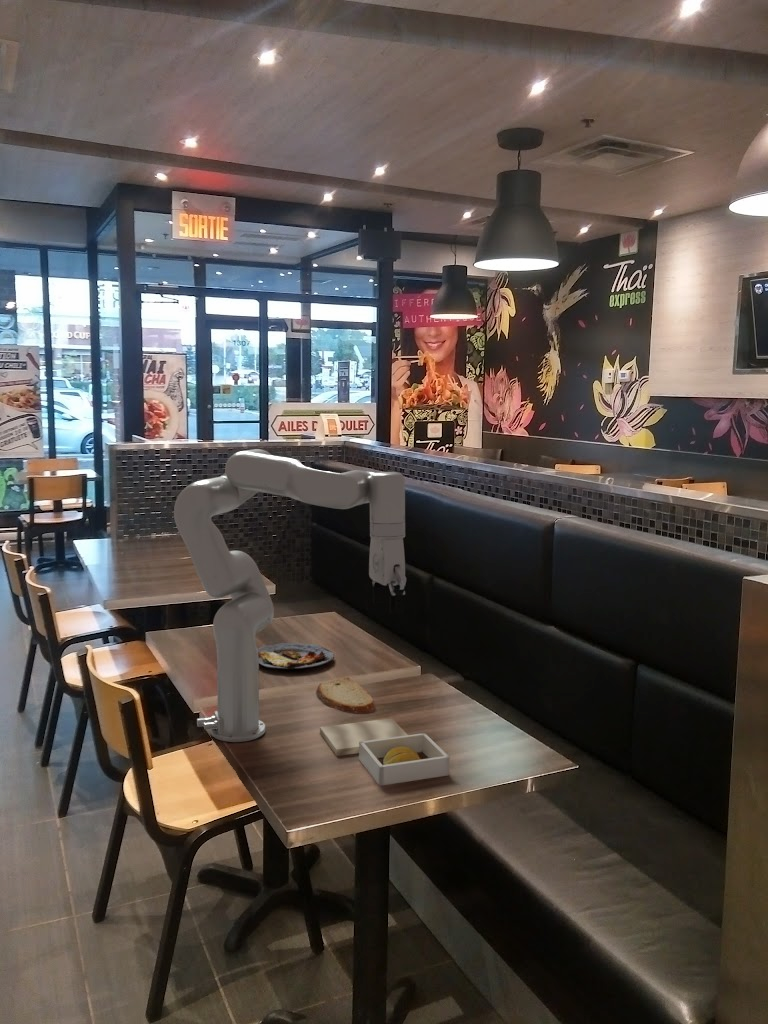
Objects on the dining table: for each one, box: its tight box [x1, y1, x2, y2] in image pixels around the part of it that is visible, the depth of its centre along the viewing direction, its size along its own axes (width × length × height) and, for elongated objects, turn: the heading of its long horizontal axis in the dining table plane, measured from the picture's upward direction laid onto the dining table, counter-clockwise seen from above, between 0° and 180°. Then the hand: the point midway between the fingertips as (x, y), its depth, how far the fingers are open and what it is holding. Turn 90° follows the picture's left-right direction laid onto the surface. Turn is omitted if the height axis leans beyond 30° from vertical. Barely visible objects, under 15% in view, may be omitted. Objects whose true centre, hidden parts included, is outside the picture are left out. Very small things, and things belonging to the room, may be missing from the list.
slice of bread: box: [315, 677, 377, 714], centre depth 217 cm, size 18×18×4 cm
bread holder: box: [358, 732, 451, 787], centre depth 178 cm, size 16×13×4 cm
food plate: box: [257, 642, 335, 670], centre depth 246 cm, size 25×23×4 cm
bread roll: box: [382, 747, 422, 765], centre depth 178 cm, size 8×9×4 cm
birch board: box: [319, 718, 408, 757], centre depth 191 cm, size 18×13×2 cm
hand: (388, 608), depth 179 cm, fingers open, 9 cm apart
